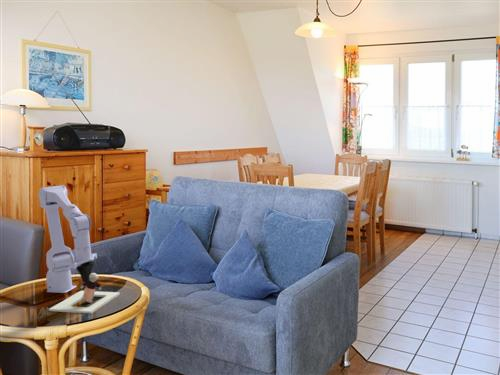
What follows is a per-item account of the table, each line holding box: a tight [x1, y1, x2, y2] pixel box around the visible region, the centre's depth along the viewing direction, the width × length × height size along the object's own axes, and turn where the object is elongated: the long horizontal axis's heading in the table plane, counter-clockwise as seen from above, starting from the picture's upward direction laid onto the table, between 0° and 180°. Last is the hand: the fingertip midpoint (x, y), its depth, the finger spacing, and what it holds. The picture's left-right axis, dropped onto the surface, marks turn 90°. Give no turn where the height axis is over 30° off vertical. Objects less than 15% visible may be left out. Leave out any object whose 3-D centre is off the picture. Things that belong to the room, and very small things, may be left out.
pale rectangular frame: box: [48, 290, 121, 315], centre depth 191 cm, size 18×20×1 cm
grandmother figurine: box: [79, 272, 102, 304], centre depth 188 cm, size 8×4×13 cm, turn 120°
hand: (86, 281), depth 189 cm, fingers closed
